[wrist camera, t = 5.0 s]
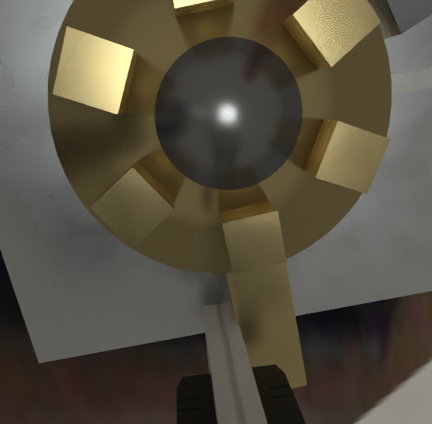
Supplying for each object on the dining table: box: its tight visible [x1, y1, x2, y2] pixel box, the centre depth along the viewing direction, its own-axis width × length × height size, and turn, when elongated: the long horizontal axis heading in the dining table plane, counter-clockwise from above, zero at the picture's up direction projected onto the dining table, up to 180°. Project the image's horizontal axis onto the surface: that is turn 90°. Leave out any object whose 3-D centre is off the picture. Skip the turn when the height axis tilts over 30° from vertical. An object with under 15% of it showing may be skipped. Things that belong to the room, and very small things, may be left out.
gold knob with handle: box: [48, 0, 392, 389], centre depth 14 cm, size 16×11×4 cm, turn 12°
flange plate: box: [0, 0, 432, 363], centre depth 15 cm, size 20×20×6 cm
